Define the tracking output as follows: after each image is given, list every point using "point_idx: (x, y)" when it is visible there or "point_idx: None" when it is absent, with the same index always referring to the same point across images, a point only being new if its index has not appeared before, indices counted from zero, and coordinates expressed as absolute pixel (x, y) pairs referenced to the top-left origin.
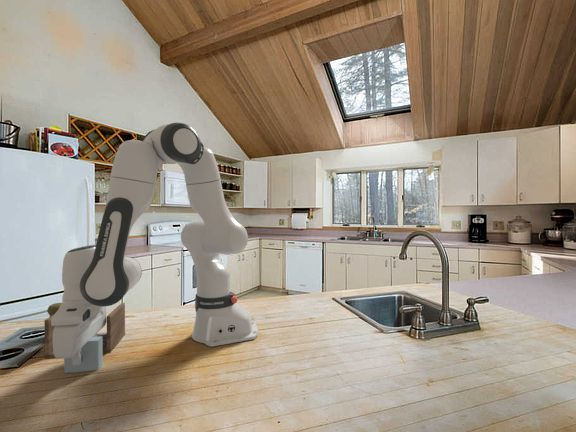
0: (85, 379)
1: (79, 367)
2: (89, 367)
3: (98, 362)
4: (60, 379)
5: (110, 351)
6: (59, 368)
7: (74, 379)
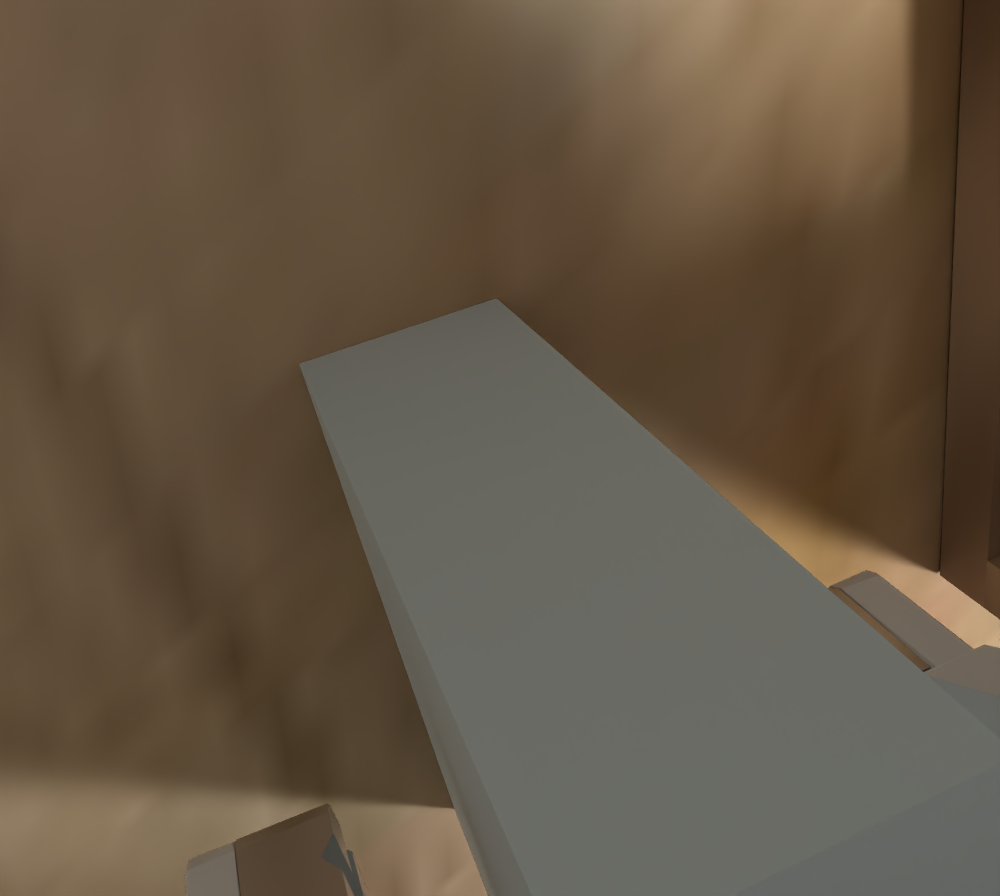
0: (169, 866)
1: (398, 641)
2: (437, 754)
3: None
4: (69, 489)
5: (951, 581)
6: (463, 82)
7: (131, 721)
